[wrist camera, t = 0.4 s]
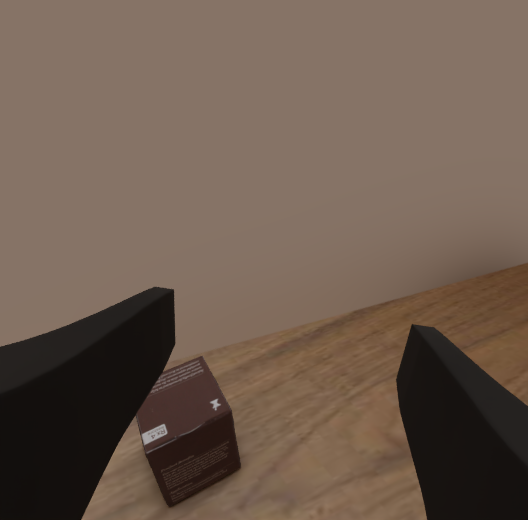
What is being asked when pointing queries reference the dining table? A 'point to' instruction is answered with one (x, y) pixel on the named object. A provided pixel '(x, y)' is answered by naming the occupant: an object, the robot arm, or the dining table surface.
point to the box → (187, 431)
